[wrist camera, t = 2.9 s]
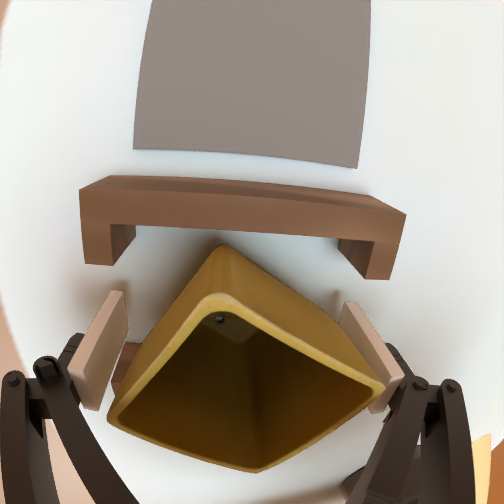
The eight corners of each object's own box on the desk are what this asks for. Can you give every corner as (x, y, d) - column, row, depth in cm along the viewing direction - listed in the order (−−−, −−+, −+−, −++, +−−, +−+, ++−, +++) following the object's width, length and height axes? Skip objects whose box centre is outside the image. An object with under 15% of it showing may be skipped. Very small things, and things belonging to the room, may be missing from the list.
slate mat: (352, 167, 16) (357, 168, 15) (136, 148, 14) (132, 149, 14) (366, -11, 11) (370, -14, 11) (165, -37, 10) (163, -42, 9)
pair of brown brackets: (320, 381, 22) (333, 418, 18) (132, 375, 20) (121, 414, 17) (370, 196, 17) (406, 214, 13) (110, 175, 15) (79, 189, 11)
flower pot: (245, 370, 21) (257, 477, 13) (140, 313, 18) (101, 423, 10) (329, 287, 19) (391, 389, 10) (218, 205, 16) (213, 286, 8)
